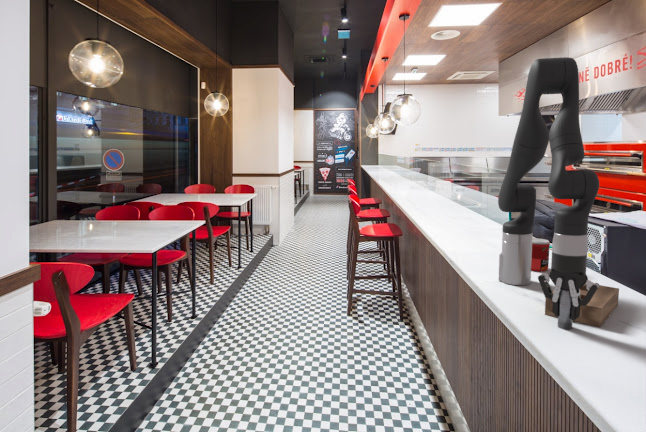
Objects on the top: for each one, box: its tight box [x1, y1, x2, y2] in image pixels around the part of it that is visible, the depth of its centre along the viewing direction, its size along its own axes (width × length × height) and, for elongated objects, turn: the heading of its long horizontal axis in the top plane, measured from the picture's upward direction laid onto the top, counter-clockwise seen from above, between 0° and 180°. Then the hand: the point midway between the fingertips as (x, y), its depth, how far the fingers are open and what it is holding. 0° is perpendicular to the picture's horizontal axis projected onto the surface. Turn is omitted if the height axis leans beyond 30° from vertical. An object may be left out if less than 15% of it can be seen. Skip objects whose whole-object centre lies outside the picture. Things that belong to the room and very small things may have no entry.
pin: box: [557, 289, 574, 331], centre depth 106 cm, size 3×3×10 cm
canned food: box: [531, 237, 551, 273], centre depth 157 cm, size 8×8×11 cm
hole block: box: [544, 284, 620, 328], centre depth 117 cm, size 13×20×5 cm, turn 135°
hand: (565, 317), depth 106 cm, fingers closed on pin, 3 cm apart
